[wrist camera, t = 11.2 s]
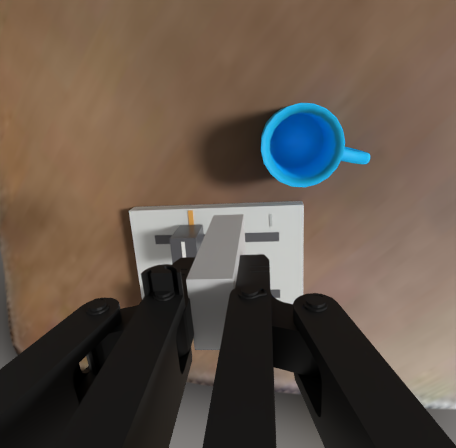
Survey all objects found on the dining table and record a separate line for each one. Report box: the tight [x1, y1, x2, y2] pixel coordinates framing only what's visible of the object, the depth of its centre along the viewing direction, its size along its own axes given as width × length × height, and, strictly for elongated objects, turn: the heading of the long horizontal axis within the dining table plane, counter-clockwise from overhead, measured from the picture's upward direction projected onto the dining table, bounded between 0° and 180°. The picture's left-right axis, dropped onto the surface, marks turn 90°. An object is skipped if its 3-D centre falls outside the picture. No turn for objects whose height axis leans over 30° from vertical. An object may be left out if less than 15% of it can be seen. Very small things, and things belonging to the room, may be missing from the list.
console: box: [129, 201, 304, 304], centre depth 46 cm, size 16×22×2 cm
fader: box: [170, 225, 204, 264], centre depth 42 cm, size 4×3×5 cm
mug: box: [261, 103, 370, 187], centre depth 38 cm, size 12×8×8 cm
